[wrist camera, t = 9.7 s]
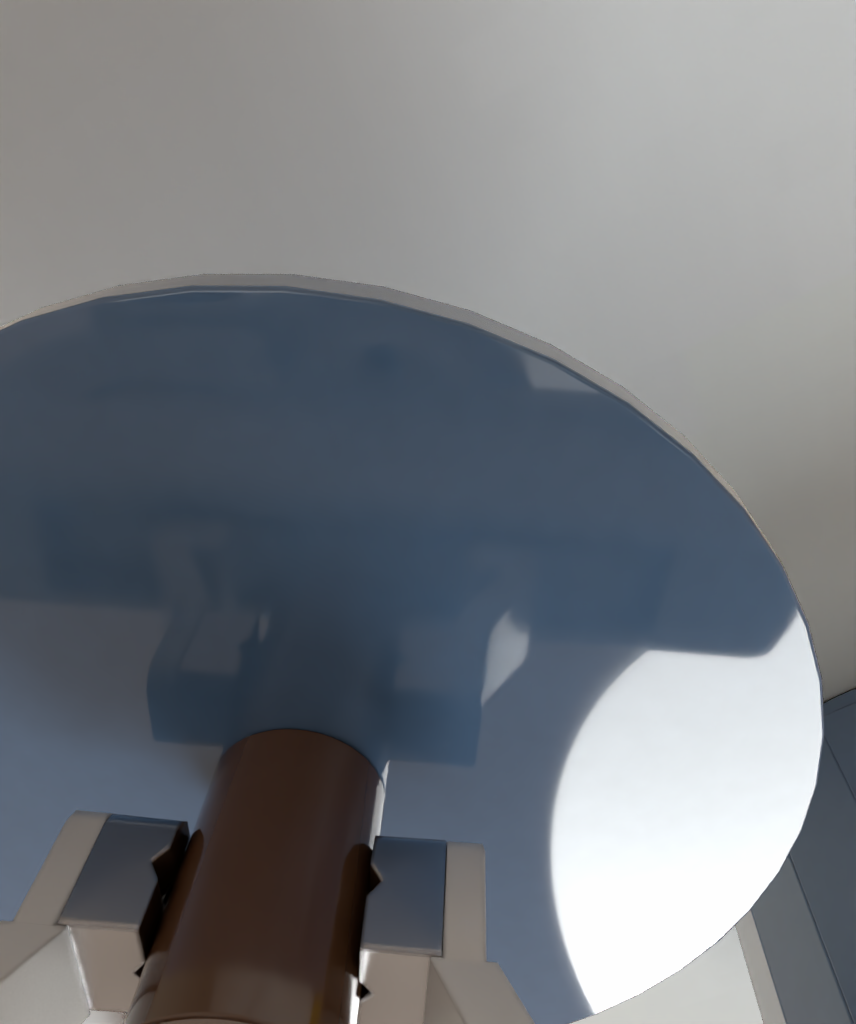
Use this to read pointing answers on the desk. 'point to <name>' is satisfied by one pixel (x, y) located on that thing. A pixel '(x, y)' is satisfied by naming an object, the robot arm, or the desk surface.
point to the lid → (384, 640)
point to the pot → (813, 898)
